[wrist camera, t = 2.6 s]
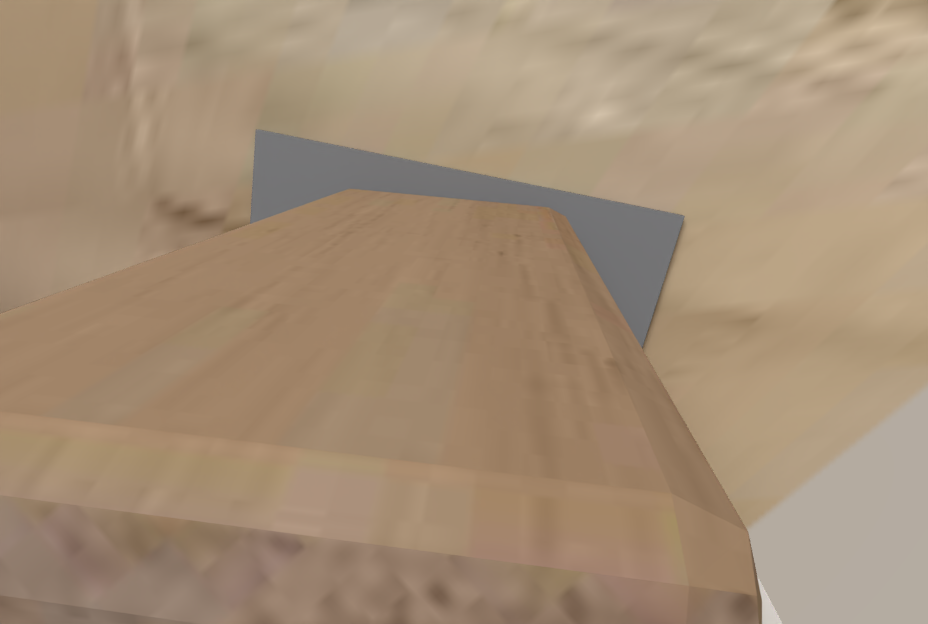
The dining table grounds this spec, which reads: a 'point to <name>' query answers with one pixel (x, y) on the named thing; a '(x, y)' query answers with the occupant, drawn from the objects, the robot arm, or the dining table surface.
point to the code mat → (593, 219)
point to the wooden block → (356, 435)
